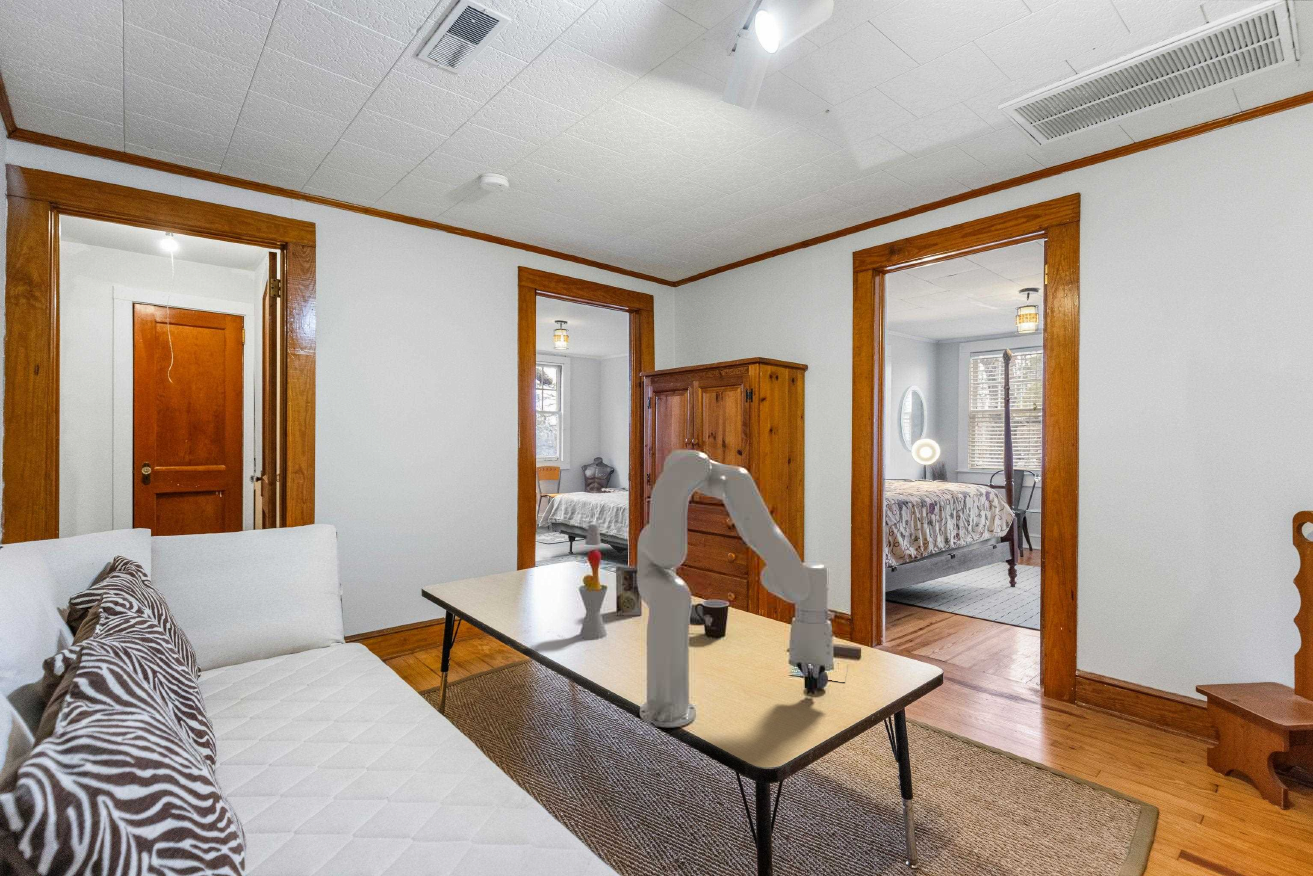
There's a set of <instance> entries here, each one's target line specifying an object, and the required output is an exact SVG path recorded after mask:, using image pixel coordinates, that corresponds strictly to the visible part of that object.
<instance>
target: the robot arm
mask: <svg viewBox="0 0 1313 876" xmlns="http://www.w3.org/2000/svg"><path fill="white" fill-rule="evenodd" d="M695 492H697V493H700V494H702V495H706V496H708V497H712V498H716V499H718V500H722V502H723V504H724V506H725V508H726V510H727V512H728V515H729V516H730V518H731V520H732V522H733V524H734V527H735V529H736V530H737V532H738V534H739V536H740V537H741V539H742V540H743V541H744V542H745V544H746V545H747V546H749V548H751V549H752V550H753V551H754V552H755V553H756V554H757V555H758V556H759V557H760V558H761V559H762V561H763V562H764V563H765V564H766V566H764V567H763V569H762V570H761V572H760V582H761V584H762V586H763V587H764V589H765V590H767V591H768V592H769V593H771V594H773V595H774V596H777V597H779V598H780V599H782V600H784V601H786V602H788V603H792V604H794V607H795V609H794V610H795V612H794V615H795V617H792V621H791V624H790V635H789V641H790V644H789V647H788V656H789V657H788V658H789V659H788V665H789V666H792V667H793V666H795V667H798V669H799V670H800V671H801V672H802V673H803V675H804V677H803V678H804V679H803V681H804V684H803V685H804V689H806V694H808V695H809V694H811V695H815V692H816V691H818V690H819V689H818V676H819V675H820V674H821V673H822V672H824V671H830V670H834V662H835V661H834V656H835V655H834V646H833V644H834V634H833V633H834V632H833V626H832V622H831V620H829V619H835V618H834V617H835V613H834V612H831V611H830V610H829V609H828V608H829V607H828V569H827V567H826V565H824V564H823V563H819V562H811V561H810V562H809V561H806V562H802V559H801V557H800V556H799V555H798V553H797V551H796V549H795V548H794V546H793V545H792V543H791V542H790V541H789V539H788V538H787V537H786V535H785V534H784V533H783V532H782V530H781V529H780V527H779V526H778V525H777V524H776V522H775V521H774V519H773V518H772V516H771V514H770V511H769V509H768V507H767V504H766V503H765V501H764V499H763V497H762V494H761V493H760V491H759V489H758V487H757V485H756V483H755V481H754V479H753V477H752V475H751V474H750V472H749V471H748V470H746V468H743V467H740V466H737V465H729V464H728V465H727V464H723V463H721V462H720V463H719V462H716V461H714V460H711V459H710V458H709V456H708V455H707V454H705V453H704V452H702V451H700V450H695V449H677V450H674V451H672V452H671V453H670V454H668V455H667V456H666V457H665V460H664V462H663V471H662V472H661V474H660V475H659V477H658V478H657V480H656V482H655V484H654V486H653V487H652V491H651V495H650V502H649V516H648V517H649V521H648V524H647V525H645V526H644V528H642V530H641V532H640V533H639V536H638V539H637V553H636V554H637V555H636V556H637V558H636V559H637V565H636V566H637V580H638V591H639V594H640V596H641V598H642V601H643V602H644V603H645V604H646V605H647V607H648V619H647V624H646V625H647V626H646V702H644V704H642V705H641V706H640V708H639V717H640V718H641V720H642V721H643V722H644V723H645V724H649V725H651V726H655V727H660V728H678V727H682V726H686V725H688V724H690V723H691V722H693V721H694V720H695V719H696V716H697V715H696V714H697V709H696V708H695V706H694V705H693V704H692V703H690V624H691V623H690V615H691V608H692V605H693V600H692V599H693V598H692V594H691V590H690V588H689V586H688V584H687V583H686V582H685V581H684V580H683V579H682V578H681V577H680V576H678V575H677V571H676V570H677V568H678V567H680V566H681V565H682V564H683V563H684V561H685V560H686V558H687V554H688V510H689V502H690V500H691V497H692V495H693V494H694V493H695ZM833 661H834V662H833ZM809 664H812V665H814V671H813V673H812V674H811V672H810V670H809ZM651 723H653V724H654V725H653V724H651Z"/></svg>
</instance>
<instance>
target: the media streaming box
mask: <svg viewBox="0 0 1313 876" xmlns="http://www.w3.org/2000/svg"><path fill="white" fill-rule="evenodd" d="M696 605H697V604H692V608H691V615H690V622H691V623H690V624H693V623H696V624H695V625H704V622H703V621H702V620H701V619H700V618H699V616H698V615H697V613H696V611H695V606H696ZM697 611H698V613H699V615H700V616H701V617H702V618H703V612H702V606H701V605H698V606H697Z"/></svg>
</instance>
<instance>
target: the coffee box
mask: <svg viewBox="0 0 1313 876" xmlns="http://www.w3.org/2000/svg"><path fill="white" fill-rule="evenodd" d="M642 601H643V599H642V598H641V596H640V594H639V591H638V580H637V565H636V566H635V565H632V566H630V565H629V566H627V565H626V566H623V565H622V566H616V568H615V602H616V603H615V608H616V611H615V612H616V613H615V615H624V616H642V614H643V613H642V611H643V609H642V608H643V607H642V606H643V605H642V604H643V602H642Z"/></svg>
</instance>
